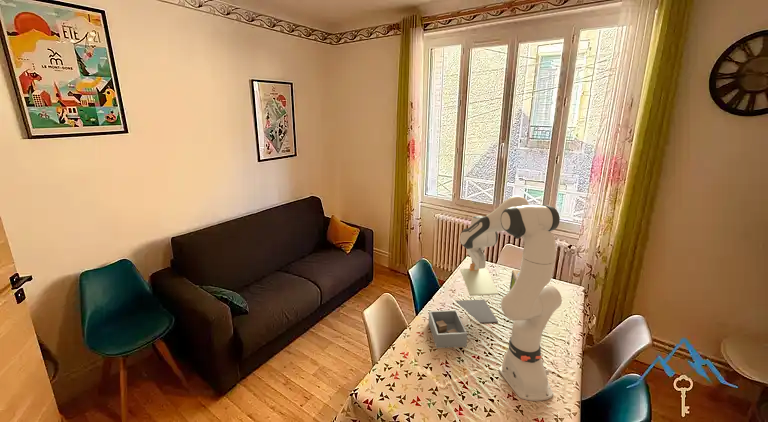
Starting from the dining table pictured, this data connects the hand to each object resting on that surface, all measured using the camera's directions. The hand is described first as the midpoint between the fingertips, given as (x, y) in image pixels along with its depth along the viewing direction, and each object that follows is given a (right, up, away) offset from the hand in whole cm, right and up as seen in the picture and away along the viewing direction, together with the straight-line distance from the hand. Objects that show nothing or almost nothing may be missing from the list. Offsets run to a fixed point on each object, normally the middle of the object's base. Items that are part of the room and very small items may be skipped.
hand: (474, 268), depth 184 cm
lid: (0, -7, -5) cm, 9 cm away
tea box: (+29, -20, +11) cm, 37 cm away
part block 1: (-21, -28, -17) cm, 39 cm away
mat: (+1, -23, -1) cm, 23 cm away
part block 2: (-17, -30, -23) cm, 42 cm away
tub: (-19, -30, -19) cm, 40 cm away
